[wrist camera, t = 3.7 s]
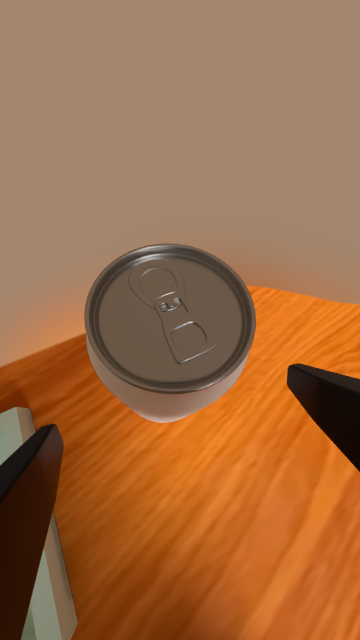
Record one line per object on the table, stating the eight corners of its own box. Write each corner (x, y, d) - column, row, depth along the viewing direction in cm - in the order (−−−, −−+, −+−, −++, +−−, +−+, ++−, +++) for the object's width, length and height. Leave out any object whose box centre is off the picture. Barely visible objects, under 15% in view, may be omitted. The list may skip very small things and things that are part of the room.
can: (181, 331, 20) (206, 218, 9) (217, 398, 17) (310, 348, 7) (112, 362, 18) (46, 264, 7) (143, 440, 16) (111, 463, 5)
